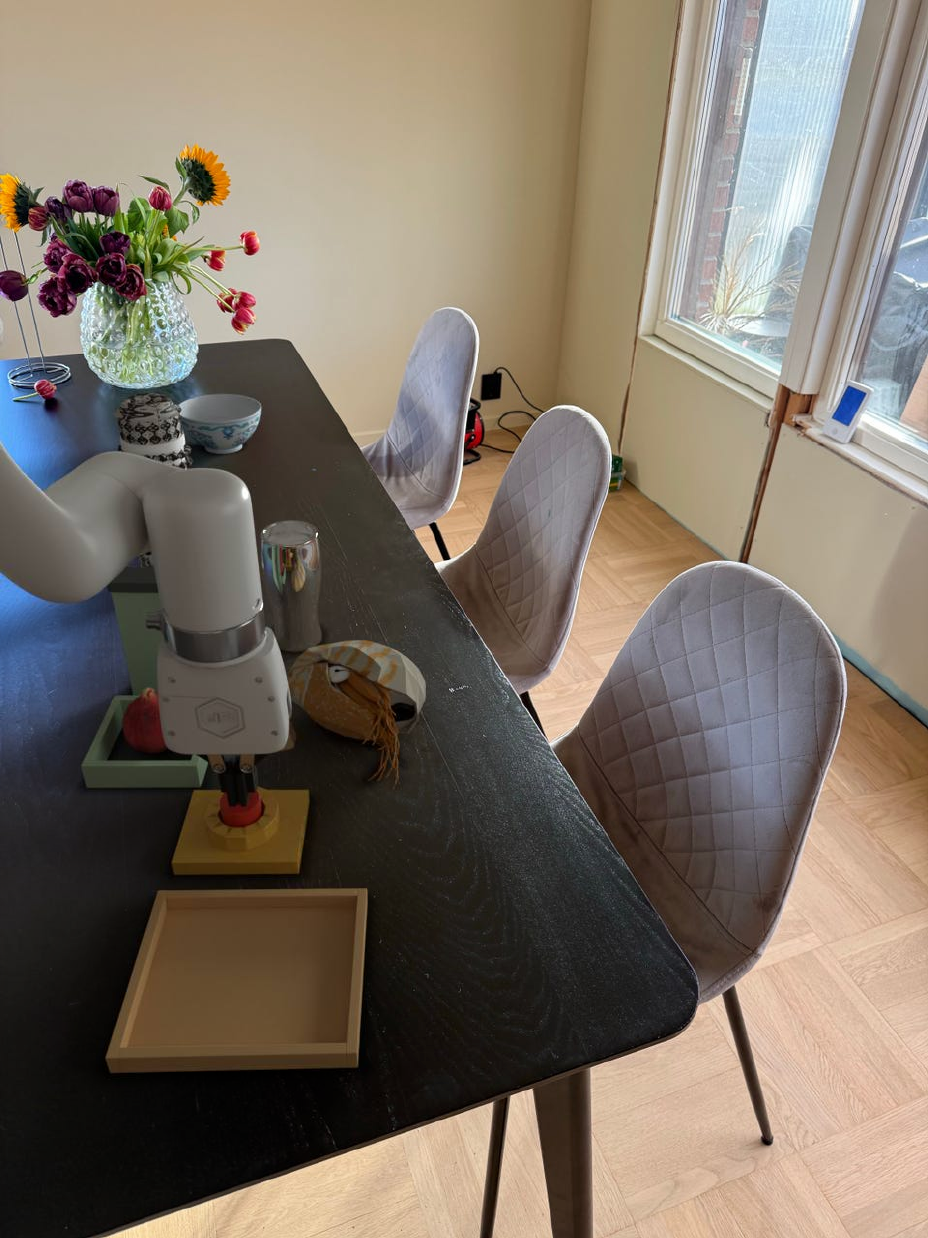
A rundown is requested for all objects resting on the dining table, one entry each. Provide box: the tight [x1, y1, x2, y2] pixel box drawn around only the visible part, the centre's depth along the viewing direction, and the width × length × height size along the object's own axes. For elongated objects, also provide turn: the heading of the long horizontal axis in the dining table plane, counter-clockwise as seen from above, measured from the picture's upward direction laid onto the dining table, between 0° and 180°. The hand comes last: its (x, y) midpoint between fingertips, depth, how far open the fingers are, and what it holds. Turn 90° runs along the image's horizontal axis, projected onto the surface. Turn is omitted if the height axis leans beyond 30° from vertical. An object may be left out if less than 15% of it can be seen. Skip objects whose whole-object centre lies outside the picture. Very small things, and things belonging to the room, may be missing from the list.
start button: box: [220, 791, 262, 828], centre depth 78 cm, size 4×4×2 cm
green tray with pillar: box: [80, 566, 209, 789], centre depth 88 cm, size 11×18×15 cm, turn 3°
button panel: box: [171, 785, 310, 876], centre depth 79 cm, size 11×9×4 cm
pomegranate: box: [122, 687, 168, 754], centre depth 87 cm, size 6×6×8 cm
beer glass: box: [260, 520, 323, 653], centre depth 104 cm, size 7×7×15 cm
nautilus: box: [286, 639, 427, 790], centre depth 91 cm, size 8×22×15 cm
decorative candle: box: [113, 392, 194, 567], centre depth 113 cm, size 9×9×25 cm
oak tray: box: [105, 888, 368, 1074], centre depth 67 cm, size 18×15×2 cm
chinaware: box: [177, 393, 262, 455], centre depth 157 cm, size 15×15×8 cm
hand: (241, 795), depth 77 cm, fingers closed
